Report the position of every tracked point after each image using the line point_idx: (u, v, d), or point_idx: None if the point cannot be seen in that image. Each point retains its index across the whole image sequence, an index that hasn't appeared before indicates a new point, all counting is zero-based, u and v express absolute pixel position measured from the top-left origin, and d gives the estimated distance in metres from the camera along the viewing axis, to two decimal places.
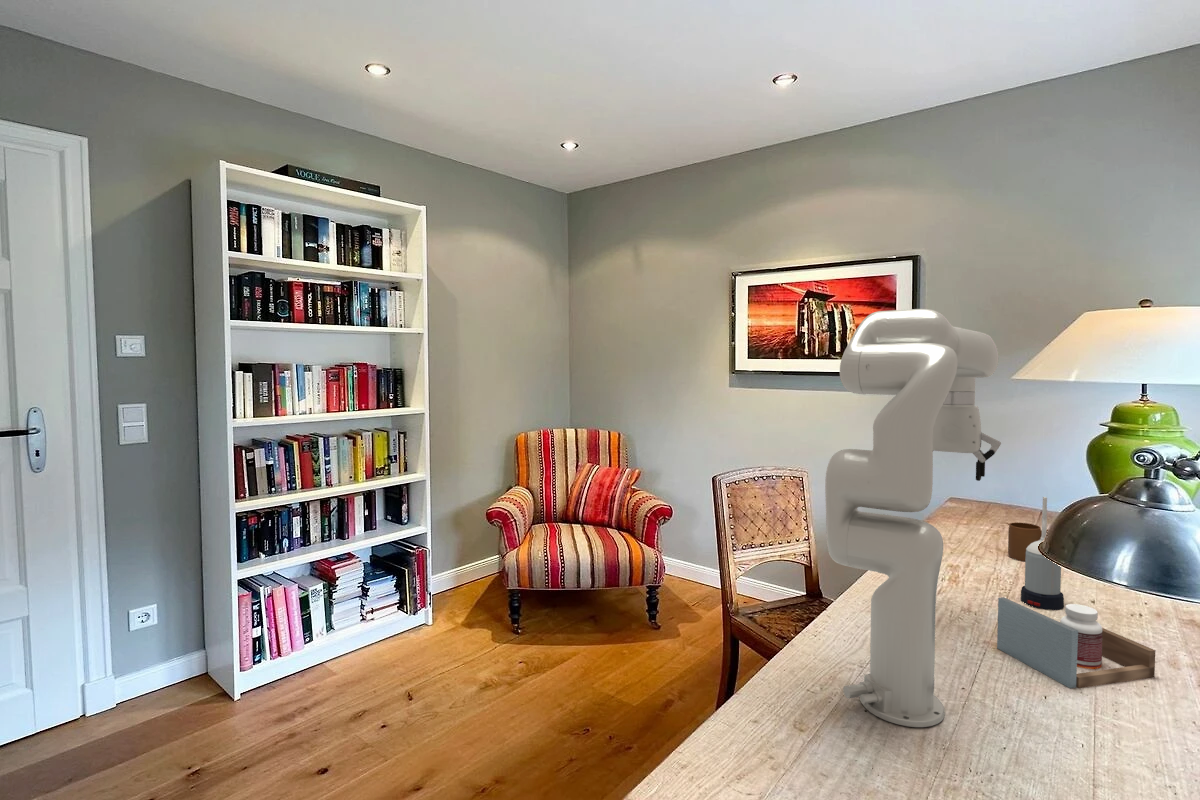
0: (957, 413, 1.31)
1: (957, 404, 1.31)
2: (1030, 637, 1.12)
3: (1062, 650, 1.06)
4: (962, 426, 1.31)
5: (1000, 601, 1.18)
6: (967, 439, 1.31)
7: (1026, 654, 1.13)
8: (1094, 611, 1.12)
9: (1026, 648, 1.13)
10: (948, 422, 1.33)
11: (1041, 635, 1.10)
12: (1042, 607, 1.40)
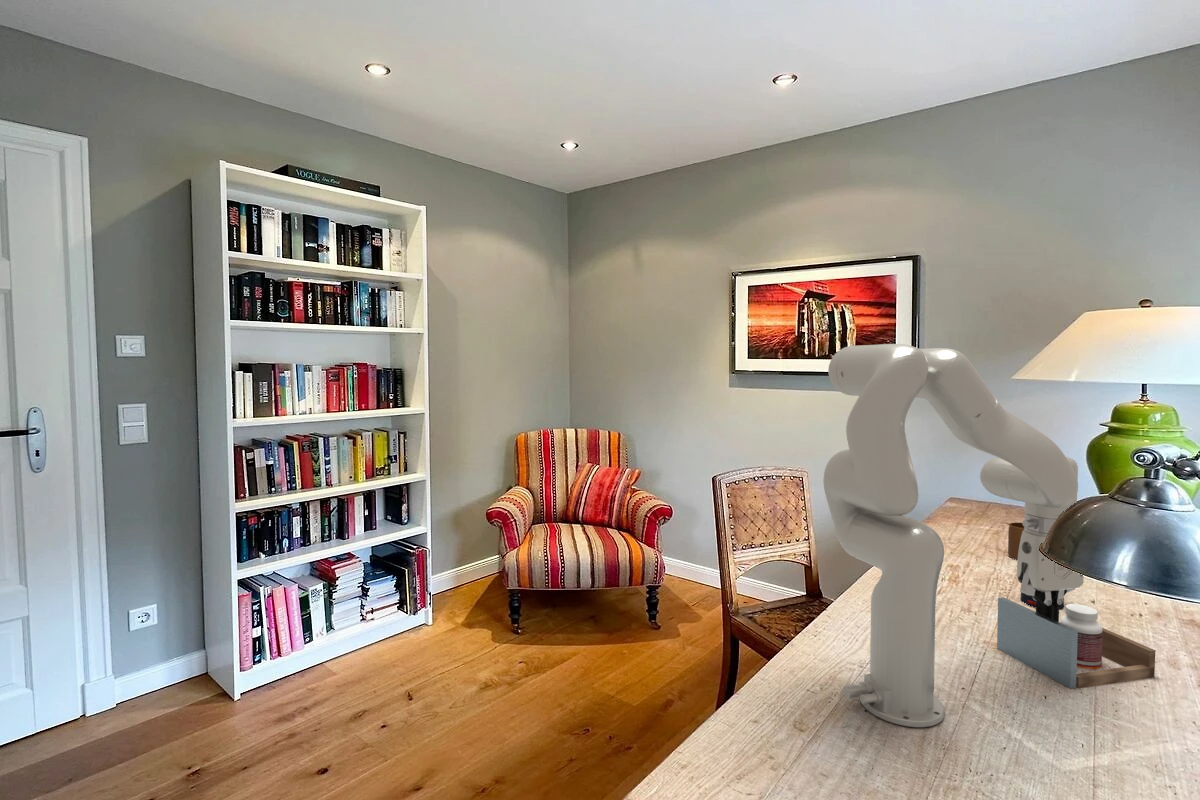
0: None
1: None
2: (1030, 637, 1.12)
3: (1062, 650, 1.06)
4: None
5: (1000, 601, 1.18)
6: None
7: (1026, 654, 1.13)
8: (1094, 611, 1.12)
9: (1026, 648, 1.13)
10: None
11: (1041, 635, 1.10)
12: None
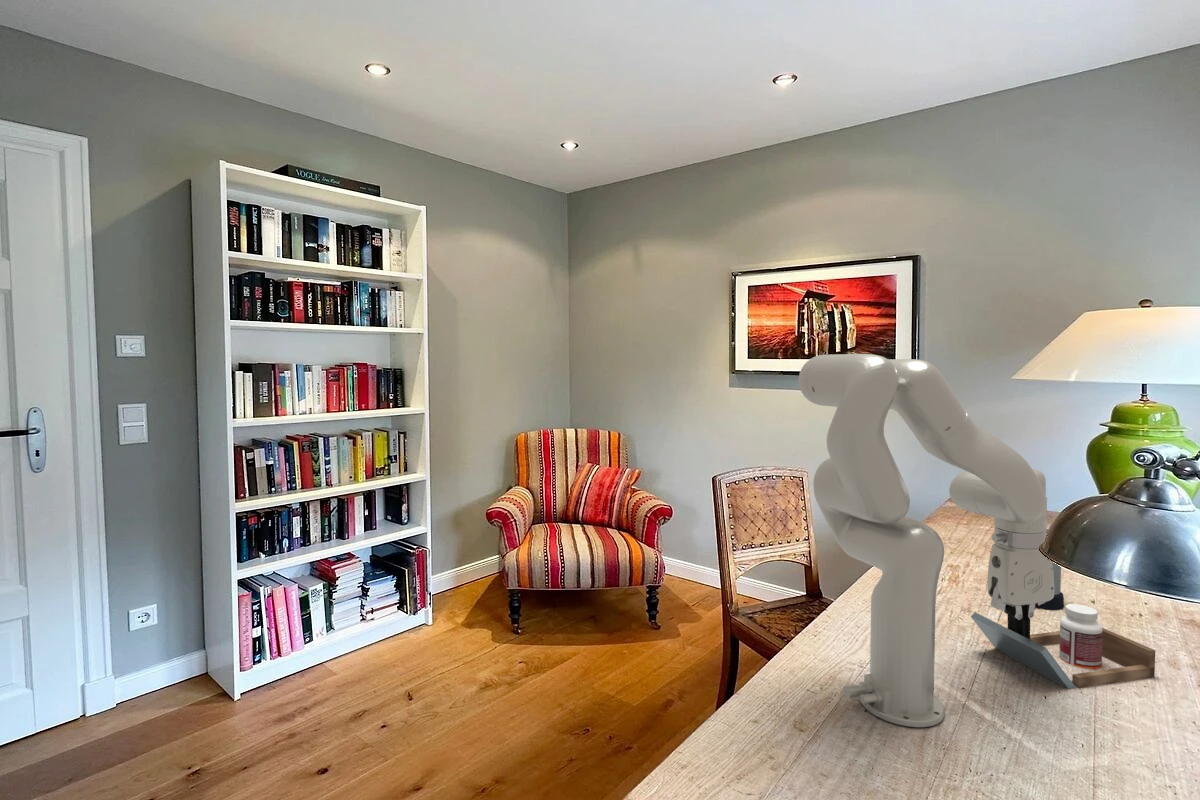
0: (1037, 557, 1.07)
1: None
2: (1015, 650, 1.11)
3: (1045, 664, 1.05)
4: (1042, 571, 1.08)
5: (973, 619, 1.17)
6: (1046, 586, 1.08)
7: (1022, 661, 1.13)
8: (1094, 611, 1.12)
9: (1018, 657, 1.12)
10: (1029, 569, 1.07)
11: (1022, 650, 1.09)
12: (1042, 607, 1.40)
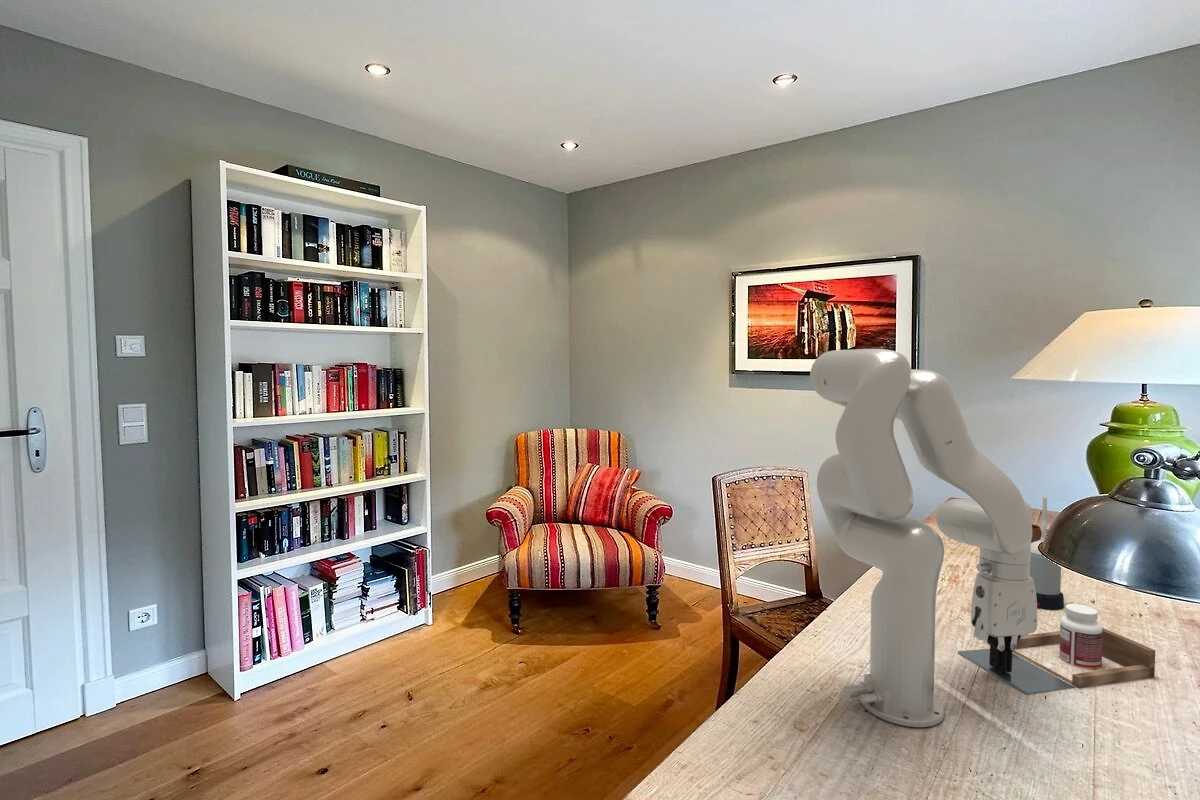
0: (1021, 588, 1.07)
1: (1026, 579, 1.06)
2: None
3: None
4: (1025, 603, 1.07)
5: None
6: (1029, 618, 1.08)
7: None
8: (1094, 611, 1.12)
9: None
10: (1013, 601, 1.07)
11: None
12: (1042, 607, 1.40)
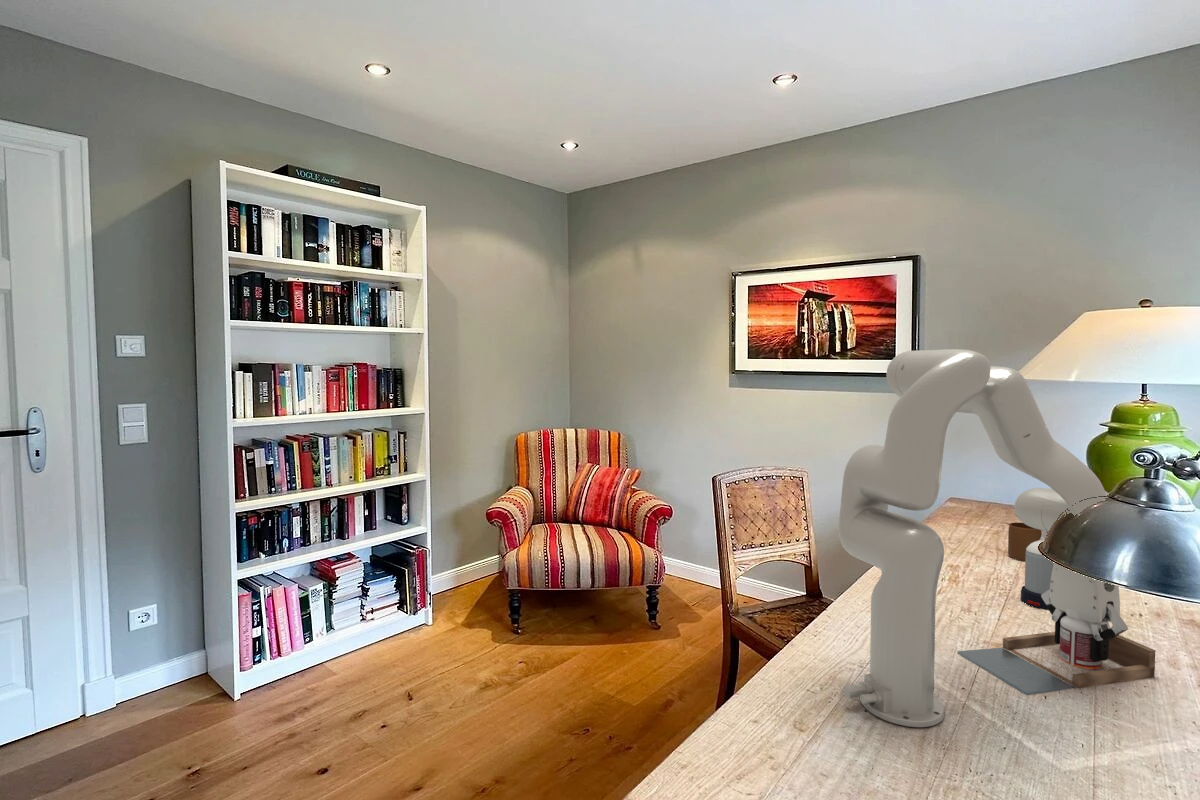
0: None
1: None
2: None
3: None
4: None
5: None
6: None
7: None
8: None
9: None
10: None
11: None
12: (1042, 607, 1.40)
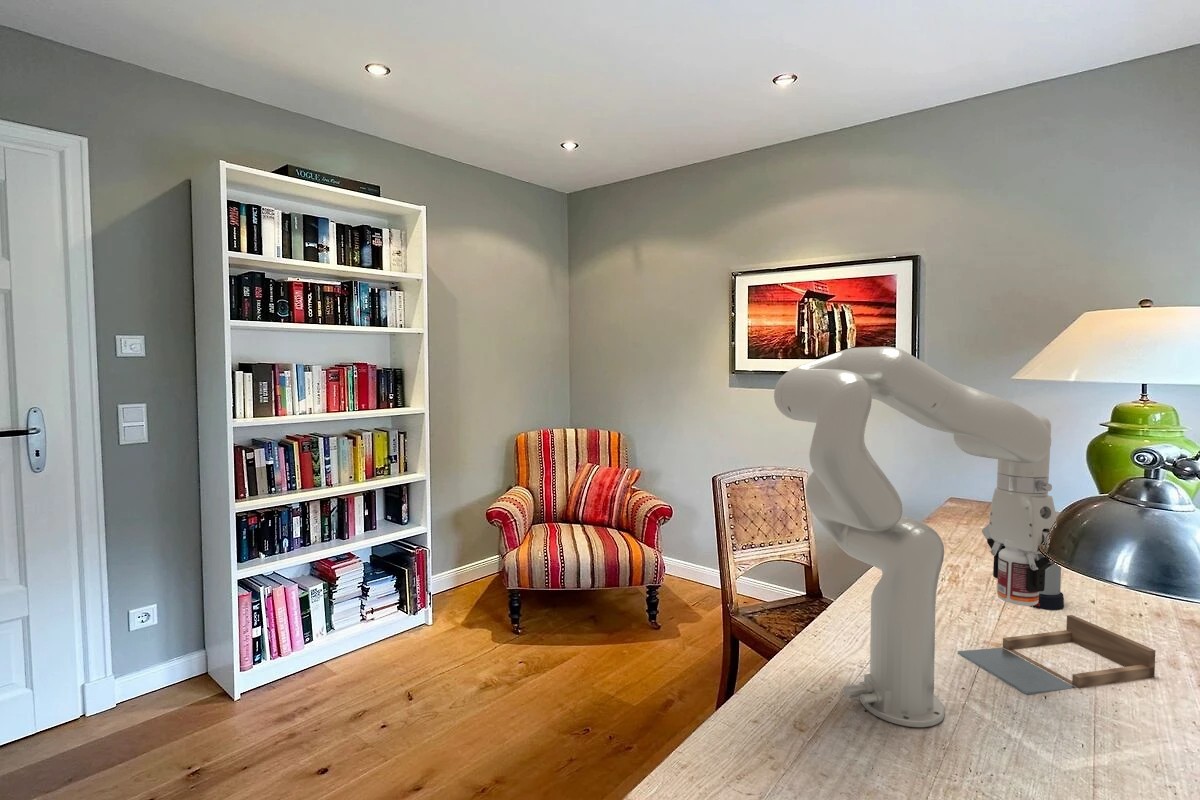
0: None
1: None
2: None
3: None
4: None
5: None
6: None
7: None
8: None
9: None
10: None
11: None
12: (1042, 607, 1.40)
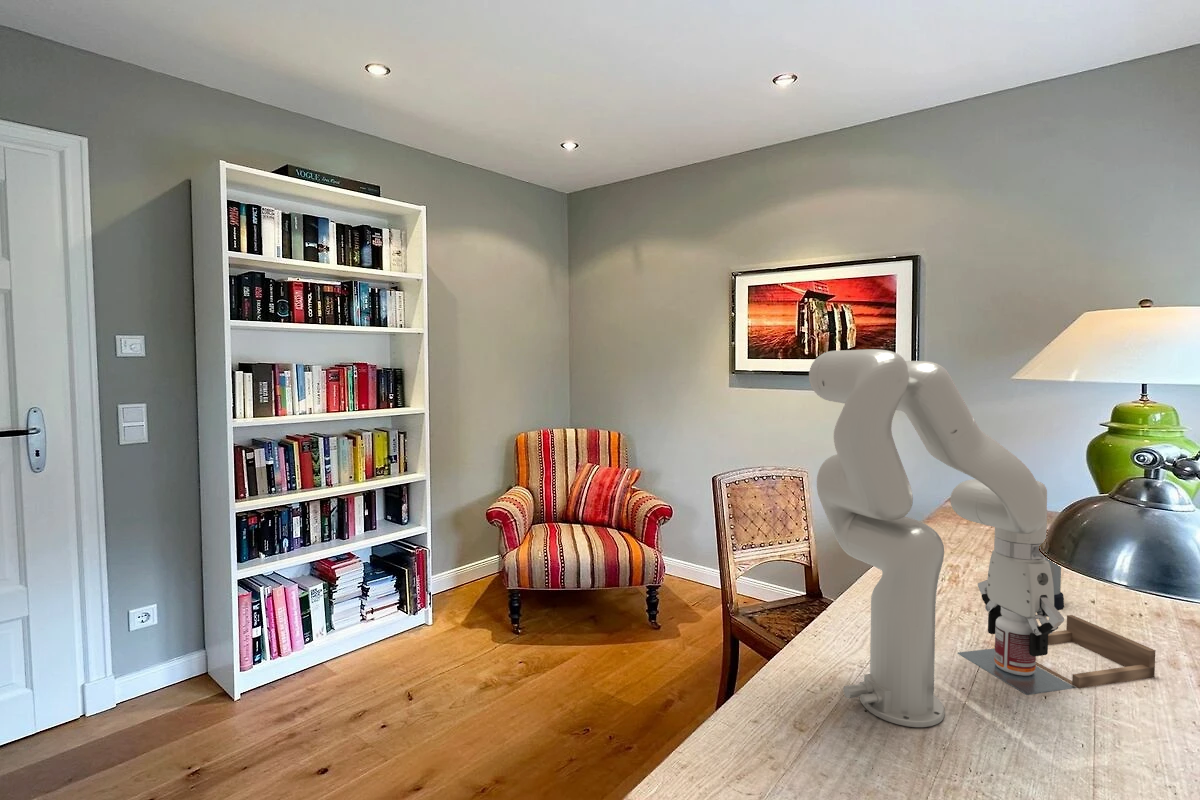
0: None
1: None
2: None
3: None
4: None
5: None
6: None
7: None
8: None
9: None
10: None
11: None
12: None
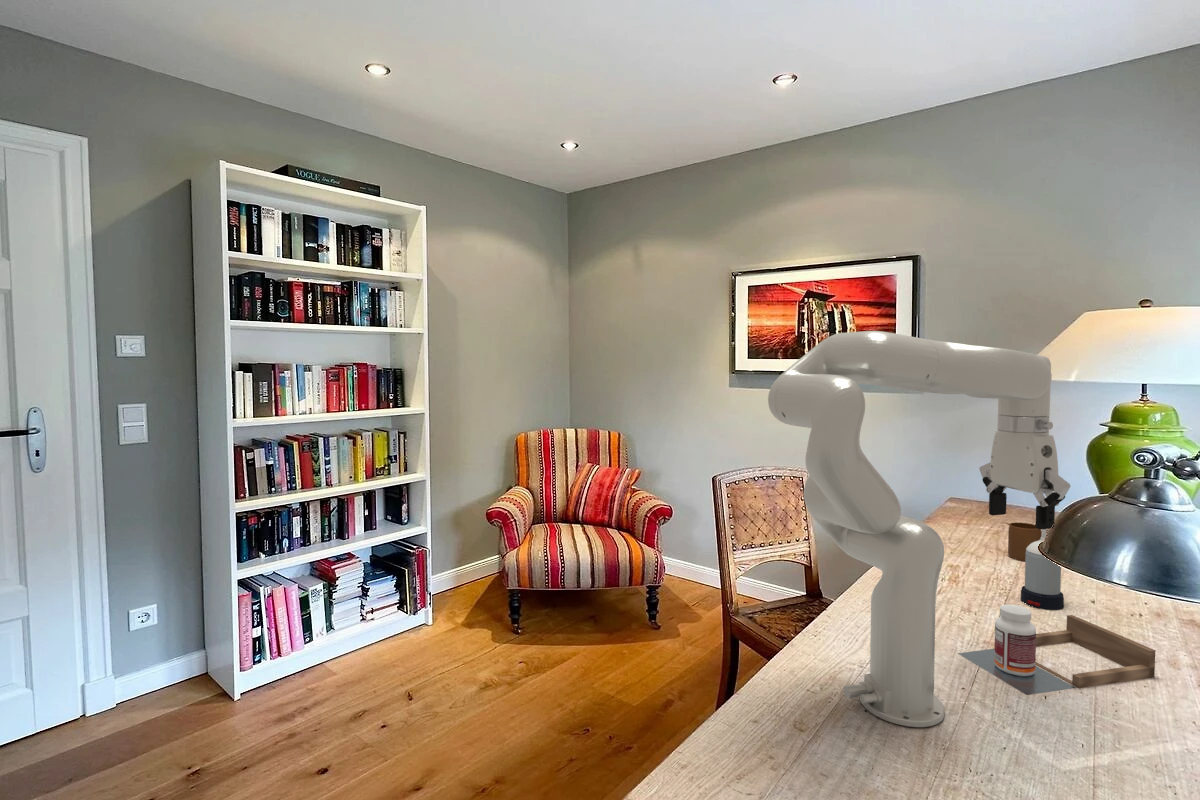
0: None
1: None
2: None
3: None
4: None
5: None
6: None
7: None
8: (1028, 612, 1.09)
9: None
10: None
11: None
12: (1042, 607, 1.40)
